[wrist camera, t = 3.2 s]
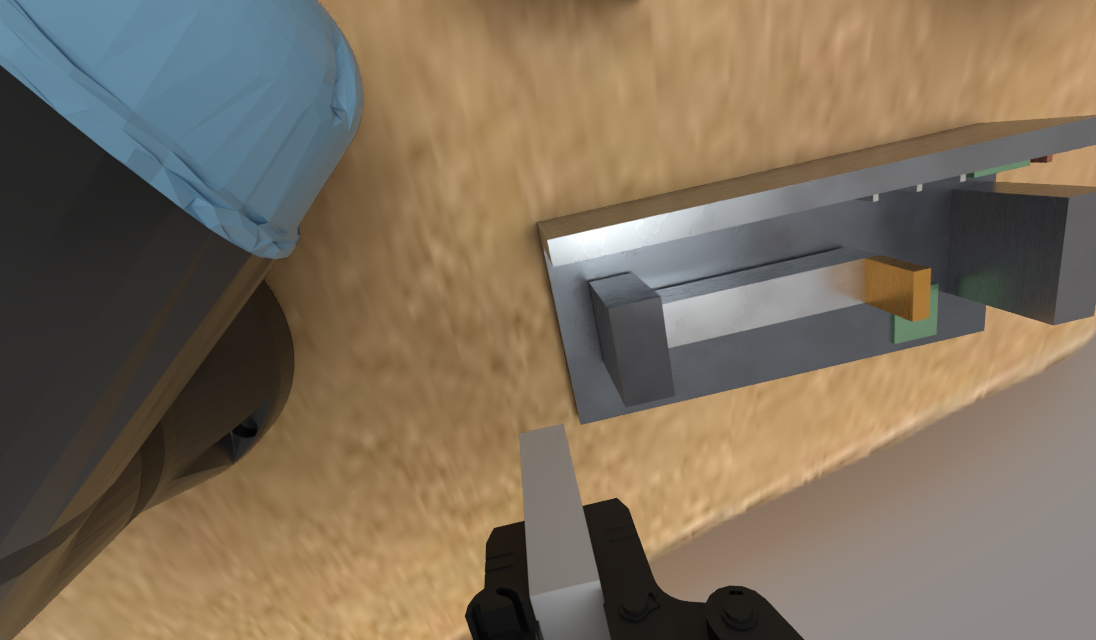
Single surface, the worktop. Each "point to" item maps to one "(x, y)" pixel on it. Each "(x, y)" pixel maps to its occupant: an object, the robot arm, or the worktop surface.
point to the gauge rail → (833, 223)
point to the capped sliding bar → (739, 309)
